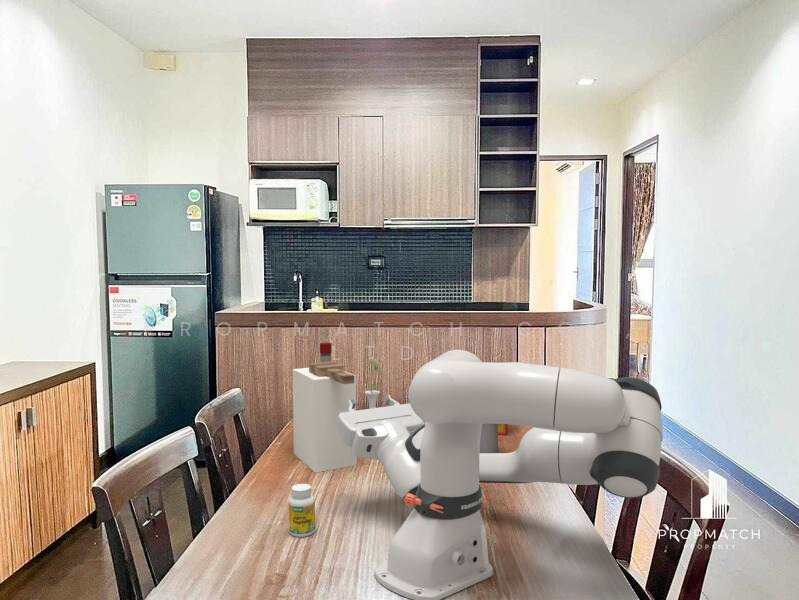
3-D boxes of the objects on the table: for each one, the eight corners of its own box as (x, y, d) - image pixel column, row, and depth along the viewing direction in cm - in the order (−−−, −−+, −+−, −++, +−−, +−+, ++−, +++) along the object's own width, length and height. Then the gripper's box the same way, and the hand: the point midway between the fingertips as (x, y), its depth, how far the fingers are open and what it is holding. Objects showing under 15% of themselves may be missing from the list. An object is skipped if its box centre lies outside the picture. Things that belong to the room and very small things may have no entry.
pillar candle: (478, 447, 181) (477, 398, 180) (504, 454, 174) (504, 403, 173) (457, 455, 174) (457, 404, 173) (484, 462, 167) (484, 410, 166)
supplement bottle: (314, 525, 128) (313, 481, 128) (316, 536, 123) (315, 490, 122) (288, 527, 127) (287, 483, 126) (289, 539, 122) (289, 492, 121)
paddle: (361, 382, 155) (361, 372, 154) (336, 385, 151) (336, 375, 151) (332, 370, 172) (332, 361, 172) (309, 372, 169) (308, 363, 169)
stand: (356, 465, 165) (355, 375, 164) (315, 472, 160) (314, 379, 158) (332, 447, 181) (331, 365, 180) (293, 453, 176) (292, 369, 174)
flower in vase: (389, 438, 190) (389, 360, 188) (353, 438, 190) (352, 360, 188) (390, 427, 203) (390, 354, 201) (356, 427, 203) (356, 354, 201)
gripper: (434, 423, 137) (408, 384, 147) (352, 436, 128) (330, 394, 138) (427, 443, 140) (403, 404, 150) (346, 457, 131) (326, 414, 141)
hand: (367, 399), depth 144 cm, fingers open, 8 cm apart
